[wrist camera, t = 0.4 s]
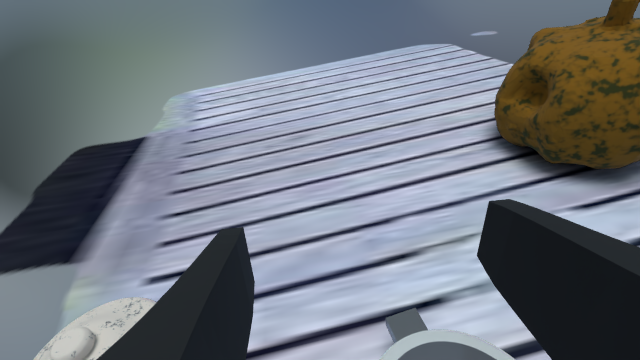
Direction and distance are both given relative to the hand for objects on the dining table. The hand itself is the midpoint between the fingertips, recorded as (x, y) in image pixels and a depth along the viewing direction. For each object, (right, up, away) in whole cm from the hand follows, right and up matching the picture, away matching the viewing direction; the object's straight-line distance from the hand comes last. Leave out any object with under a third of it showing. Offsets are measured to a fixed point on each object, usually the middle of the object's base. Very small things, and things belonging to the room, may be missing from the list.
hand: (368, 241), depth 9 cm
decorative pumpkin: (+34, +7, +35) cm, 50 cm away
